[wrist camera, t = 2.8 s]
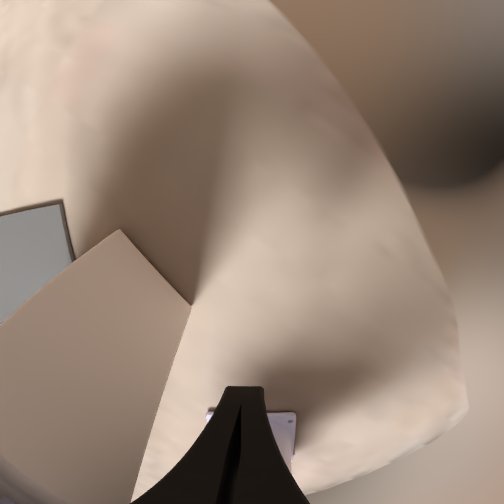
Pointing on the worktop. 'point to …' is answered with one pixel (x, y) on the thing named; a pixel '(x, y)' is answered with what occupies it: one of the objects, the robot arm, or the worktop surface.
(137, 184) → the worktop surface
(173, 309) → the cream plain cuboid
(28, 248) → the mat
